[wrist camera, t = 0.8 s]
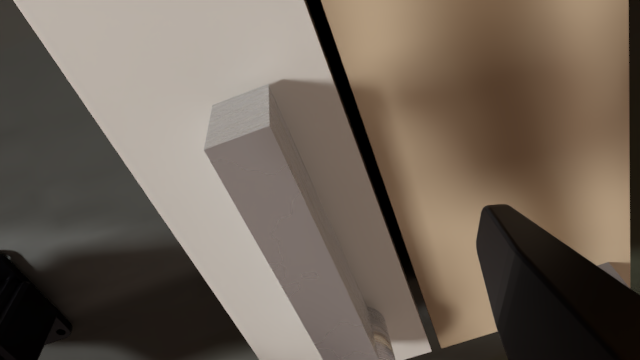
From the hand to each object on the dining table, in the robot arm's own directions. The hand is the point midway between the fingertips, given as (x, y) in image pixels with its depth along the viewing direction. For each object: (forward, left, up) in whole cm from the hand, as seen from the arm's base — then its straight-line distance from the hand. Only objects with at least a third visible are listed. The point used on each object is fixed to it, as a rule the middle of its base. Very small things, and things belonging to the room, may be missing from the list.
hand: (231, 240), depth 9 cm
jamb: (-2, -6, -14) cm, 16 cm away
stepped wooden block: (+8, -6, -14) cm, 17 cm away
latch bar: (-1, -8, -9) cm, 12 cm away
